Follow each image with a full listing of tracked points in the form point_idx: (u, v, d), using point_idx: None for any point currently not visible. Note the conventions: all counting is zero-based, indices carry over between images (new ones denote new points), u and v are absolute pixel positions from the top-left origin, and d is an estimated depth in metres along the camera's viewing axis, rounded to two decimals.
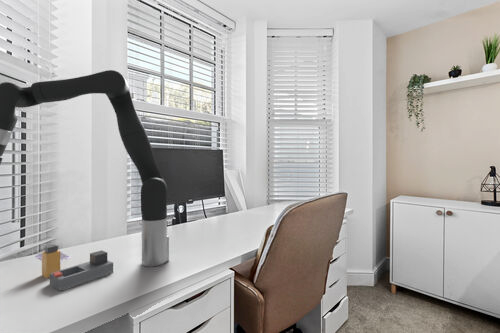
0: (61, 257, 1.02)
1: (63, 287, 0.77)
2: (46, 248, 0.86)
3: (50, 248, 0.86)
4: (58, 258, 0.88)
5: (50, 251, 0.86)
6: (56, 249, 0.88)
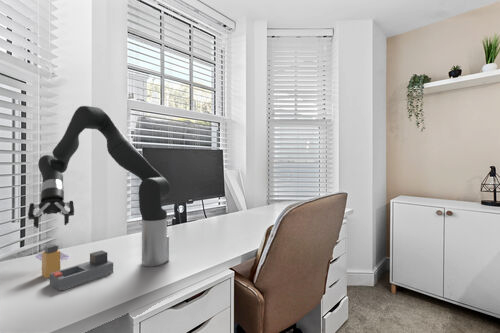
0: (61, 257, 1.02)
1: (63, 287, 0.77)
2: (46, 248, 0.86)
3: (50, 248, 0.86)
4: (58, 258, 0.88)
5: (50, 251, 0.86)
6: (56, 249, 0.88)
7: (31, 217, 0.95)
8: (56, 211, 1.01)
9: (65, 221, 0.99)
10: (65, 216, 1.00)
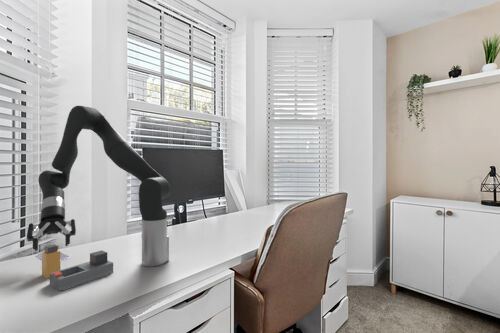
0: (61, 257, 1.02)
1: (63, 287, 0.77)
2: (46, 248, 0.86)
3: (50, 248, 0.86)
4: (58, 258, 0.88)
5: (50, 251, 0.86)
6: (56, 249, 0.88)
7: (30, 239, 0.89)
8: (57, 231, 0.95)
9: (66, 242, 0.93)
10: (66, 236, 0.94)
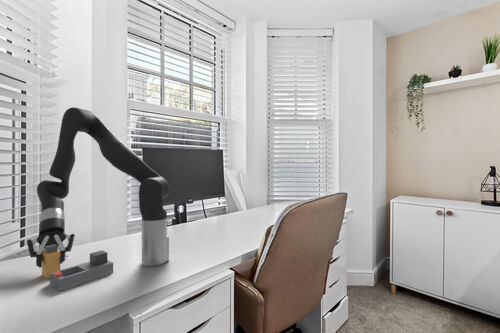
0: None
1: (63, 287, 0.77)
2: (46, 248, 0.86)
3: (50, 248, 0.86)
4: (58, 258, 0.88)
5: (50, 251, 0.86)
6: (56, 249, 0.88)
7: (33, 255, 0.86)
8: None
9: (61, 260, 0.87)
10: (61, 253, 0.89)
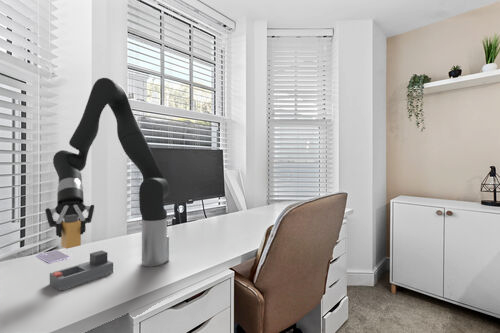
0: (61, 257, 1.02)
1: (63, 287, 0.77)
2: (66, 217, 0.81)
3: (70, 217, 0.81)
4: (78, 228, 0.82)
5: (70, 220, 0.81)
6: (76, 219, 0.82)
7: (53, 224, 0.80)
8: None
9: (81, 230, 0.82)
10: (81, 224, 0.83)
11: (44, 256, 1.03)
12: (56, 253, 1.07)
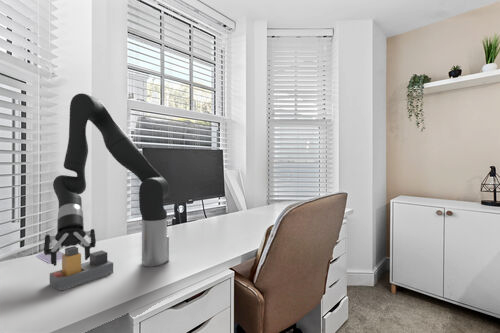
0: None
1: (63, 287, 0.77)
2: (66, 250, 0.81)
3: (70, 250, 0.81)
4: (79, 261, 0.82)
5: (70, 254, 0.81)
6: (77, 251, 0.82)
7: (47, 252, 0.80)
8: (75, 243, 0.85)
9: (86, 256, 0.83)
10: (86, 249, 0.84)
11: (44, 256, 1.04)
12: None
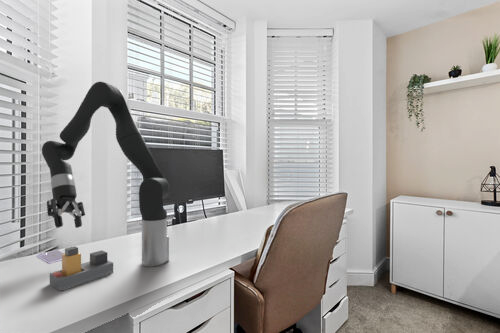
0: None
1: (63, 287, 0.77)
2: (66, 250, 0.81)
3: (70, 250, 0.81)
4: (79, 261, 0.82)
5: (70, 254, 0.81)
6: (77, 251, 0.82)
7: (53, 215, 0.90)
8: (70, 211, 0.98)
9: (80, 225, 0.99)
10: (80, 219, 1.00)
11: (44, 256, 1.04)
12: (56, 253, 1.07)
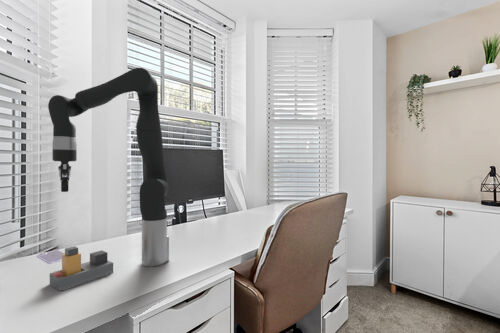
0: None
1: (63, 287, 0.77)
2: (66, 250, 0.81)
3: (70, 250, 0.81)
4: (79, 261, 0.82)
5: (70, 254, 0.81)
6: (77, 251, 0.82)
7: (65, 180, 0.93)
8: None
9: None
10: None
11: (45, 256, 1.04)
12: (56, 253, 1.07)
